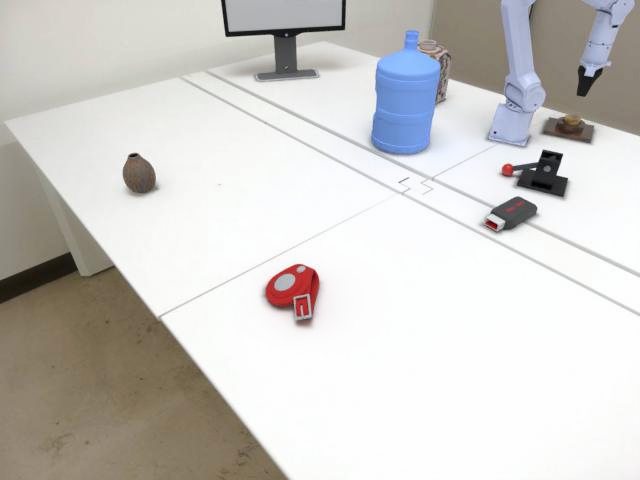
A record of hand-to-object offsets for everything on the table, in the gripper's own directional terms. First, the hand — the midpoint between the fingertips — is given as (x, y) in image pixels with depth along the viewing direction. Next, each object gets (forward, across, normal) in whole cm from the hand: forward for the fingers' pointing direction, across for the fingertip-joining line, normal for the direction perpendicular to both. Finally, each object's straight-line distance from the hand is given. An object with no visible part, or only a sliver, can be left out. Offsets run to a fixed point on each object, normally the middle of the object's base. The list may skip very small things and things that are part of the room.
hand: (580, 95), depth 122 cm
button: (+8, 0, 0) cm, 8 cm away
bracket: (+10, -33, +2) cm, 35 cm away
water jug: (+11, -29, +39) cm, 50 cm away
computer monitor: (+11, +1, +94) cm, 95 cm away
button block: (+10, 0, 0) cm, 10 cm away
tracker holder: (+11, -93, +33) cm, 99 cm away
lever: (+8, -33, +5) cm, 34 cm away
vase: (+11, -80, +82) cm, 115 cm away
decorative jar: (+11, +2, +44) cm, 45 cm away
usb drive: (+11, -51, +6) cm, 52 cm away
